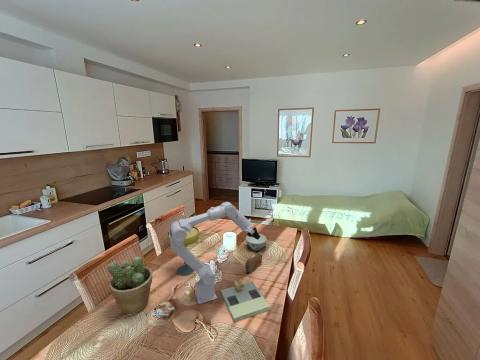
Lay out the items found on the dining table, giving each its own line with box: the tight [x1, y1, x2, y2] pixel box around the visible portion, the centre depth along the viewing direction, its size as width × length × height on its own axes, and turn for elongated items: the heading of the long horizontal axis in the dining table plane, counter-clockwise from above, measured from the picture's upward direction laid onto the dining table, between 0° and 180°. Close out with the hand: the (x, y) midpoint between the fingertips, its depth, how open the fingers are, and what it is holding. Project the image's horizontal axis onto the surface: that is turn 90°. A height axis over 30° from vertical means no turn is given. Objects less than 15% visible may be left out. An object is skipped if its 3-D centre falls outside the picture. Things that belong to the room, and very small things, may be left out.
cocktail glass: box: [166, 226, 200, 277], centre depth 130 cm, size 18×18×25 cm
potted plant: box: [106, 256, 153, 315], centre depth 103 cm, size 18×19×25 cm
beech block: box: [233, 279, 245, 293], centre depth 114 cm, size 4×4×4 cm
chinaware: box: [245, 233, 268, 251], centre depth 157 cm, size 15×15×8 cm
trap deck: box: [220, 280, 271, 323], centre depth 108 cm, size 18×19×2 cm
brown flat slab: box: [244, 252, 263, 274], centre depth 134 cm, size 15×3×8 cm, turn 141°
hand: (255, 234), depth 117 cm, fingers open, 7 cm apart
